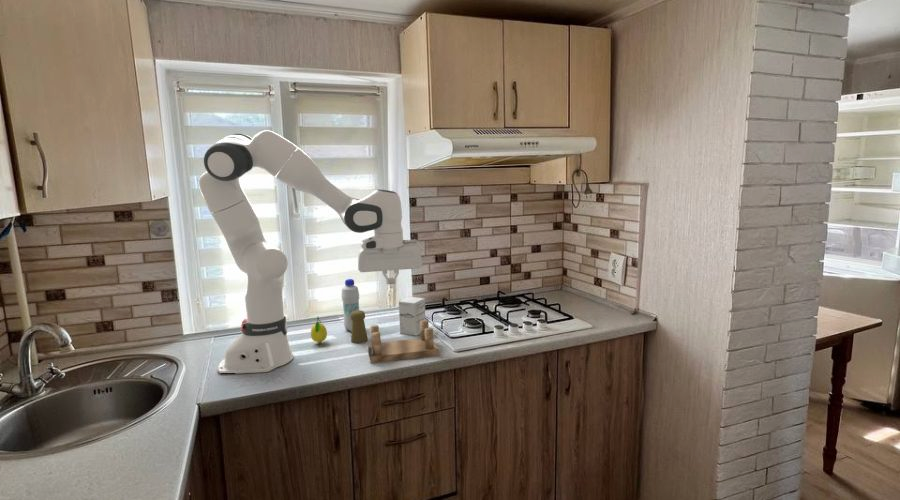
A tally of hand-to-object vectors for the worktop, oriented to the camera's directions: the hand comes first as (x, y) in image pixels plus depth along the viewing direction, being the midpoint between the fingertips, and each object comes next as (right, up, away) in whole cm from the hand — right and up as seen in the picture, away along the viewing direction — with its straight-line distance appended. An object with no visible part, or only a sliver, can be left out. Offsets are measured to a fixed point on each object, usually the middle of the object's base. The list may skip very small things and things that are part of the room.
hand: (391, 283), depth 152 cm
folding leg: (-5, -22, +2) cm, 23 cm away
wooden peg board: (+3, -23, +6) cm, 24 cm away
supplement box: (+5, -20, +26) cm, 33 cm away
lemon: (-28, -23, +17) cm, 40 cm away
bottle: (-19, -20, +31) cm, 41 cm away
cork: (-14, -22, +19) cm, 32 cm away
